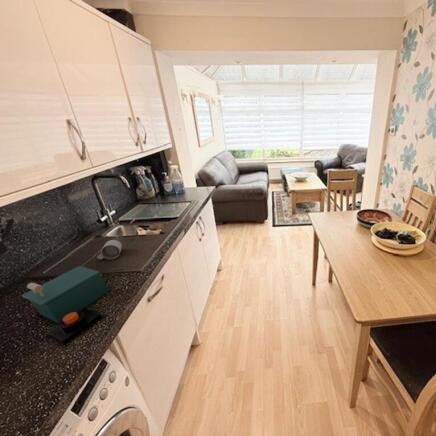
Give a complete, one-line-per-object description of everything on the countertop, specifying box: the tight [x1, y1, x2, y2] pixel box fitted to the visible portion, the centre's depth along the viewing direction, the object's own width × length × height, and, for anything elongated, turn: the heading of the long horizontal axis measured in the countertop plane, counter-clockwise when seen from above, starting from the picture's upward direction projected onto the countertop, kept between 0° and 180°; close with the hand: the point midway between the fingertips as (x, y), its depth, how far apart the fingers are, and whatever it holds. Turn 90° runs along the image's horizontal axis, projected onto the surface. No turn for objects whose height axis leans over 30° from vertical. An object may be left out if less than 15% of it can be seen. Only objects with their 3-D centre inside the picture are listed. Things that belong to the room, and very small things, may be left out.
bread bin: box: [29, 273, 110, 324], centre depth 89 cm, size 17×13×9 cm
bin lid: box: [21, 265, 101, 306], centre depth 86 cm, size 18×13×5 cm
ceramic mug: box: [97, 239, 123, 261], centre depth 118 cm, size 11×8×8 cm
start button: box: [63, 312, 79, 324], centre depth 78 cm, size 4×4×2 cm
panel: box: [46, 307, 102, 345], centre depth 79 cm, size 11×9×4 cm
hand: (1, 253), depth 74 cm, fingers closed
